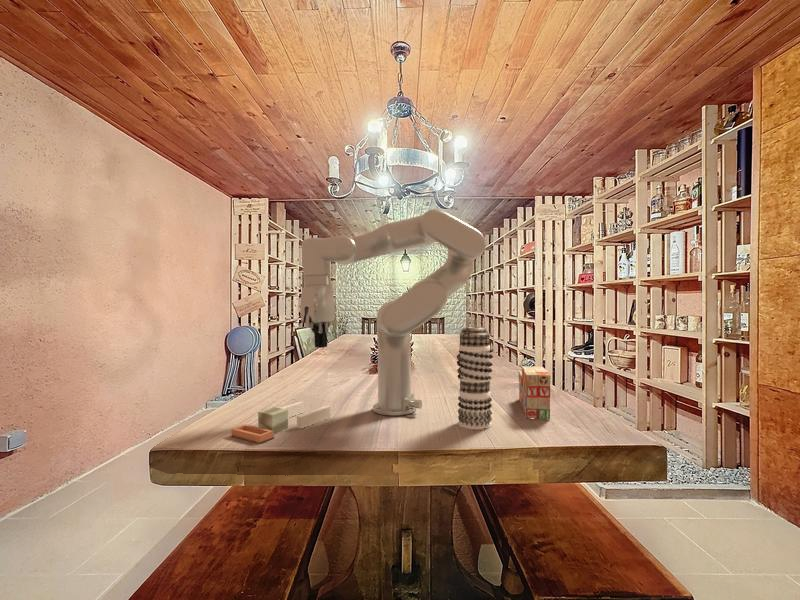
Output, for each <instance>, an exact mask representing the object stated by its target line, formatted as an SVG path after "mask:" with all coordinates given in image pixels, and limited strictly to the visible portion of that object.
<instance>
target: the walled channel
mask: <svg viewBox="0 0 800 600" xmlns="http://www.w3.org/2000/svg"><path fill="white" fill-rule="evenodd" d="M280 408H281V409H286V410H288V419H290V418H289V417H291V418H293V417H292V416H294V417H296V428H297V429H300V428H301V429H300V430H302V428H303V429H304V427H305V428H307V426H308V427H310V426H313V425H316V424H319V423H320V422H322V421H325V419H326V420H327V419H330V418H331V406H328V405H324V406H322V407H318V408H316V409H313V410H310V411H307V412H305V402H304V401H298V402H294V403H292V404H288V405H284V406H281V407H280ZM300 413H302V414H300ZM298 414H299V415H298ZM295 415H296V416H295ZM312 424H313V425H312Z"/></svg>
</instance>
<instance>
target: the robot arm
mask: <svg viewBox="0 0 800 600" xmlns="http://www.w3.org/2000/svg"><path fill="white" fill-rule="evenodd" d="M433 243H438V244H440V245H441V246H444V247H445V248H447V259H446V261H445V263H444V264H443V265H442V266H440V267H438V268H437V269H436V270H435V271H434V272H432V273H430V274H429V275H427V276H426V277H425V278H423V279H421V280H419V281H417V282H415V283H414V284H413V285H412V286H411V287H410V289H409V290H408V291H406V292H405V293H403V294H402V295H401V296H400V297H398V298H396V299H395V300H389V301H386V302H384V304H382V305H381V306H380V308H379V309H378V311H377V315H376V331H377V332H376V333H377V335H376V336H377V399H378V400H377V401H378V402H376V403H375V404H373V406H372V411H373V412H374V413H376V414H379V415H382V416H383V415H384V416H395V417H396V416H404V415H410V414H412V413H414V412H415V413H416V410H417V409H418V410H419V409H420V410H421V409H422V408H423V400H422V399H416V398H415V394H414V393H412V385H411V384H412V381H411V380H412V379H411V378H412V376H411V375H412V371H411V369H412V365H411V362H412V361H411V358H412V357H411V356H412V351H411V350H412V349H411V344H412V343H411V333H412V332H413V331H415V330H416V329H418V328H419V327H421V326H422V325H424V324H425V323H427V322H428V321H429V320H431V319H432V318H433V317H435V316H437V314H439V313H440V312H441V311H443V309H444V308H445V307H446V304H447V301H448V298H450V297H451V296H452V295H454V294H455V293H456V292H458V291H459V290H460V289H461V288H462V287H464V286H465V285H466V284H467V282H468V281H469V280H470V278H471V275H472V273H473V269H474V260H477V259H479V258H480V257H481V256H482V255H483V254H484V252H485V250H486V248H487V247H486V246H487V243H486V238H485V236H484V235H483V233H482V232H481V231H479V229H477V228H474V227H473V226H471V225H469V224H468V223H465V222H464V221H462V220H460V219H459V218H457V217H455V216H453V215H452V214H450V213H448V212H446V211H444V210H441V209H438V208H437V209H436V208H433V209H429V210H427V211H426V212H424V213H423V214H421V215H417V216H413V217H410V218H405V219H401V220H397V221H396V220H395V221H392V222H388V223H385V224H383V225H381V226H379V227H378V228H376V229H374V230H371V231H370V232H367V233H364V234H362V235H357V236H353V237H349V235H348V236H347V235H337V236H332V237H331V236H330V237H324V238H323V237H309V238H305V239H303V240H302V242H301V257H302V259H301V260H302V272H303V273H302V274H303V276H302V277H303V287H302V289H301V295H300V321H301V323H303V324H305V325H304V326H305V328H306V329H310V330H311V331H312V334H313V336H314V347H315V348H326V347H328V336H327V335H328V332H329V328H330V326H332V325H333V324H334V320H335V319H336V304H335V297H334V292H333V288H332V280H331V277H332V276H331V262H335V263H336V264H337V265H338V264H339V265H342V266H343V265H344V266H345V265H350V264H353V263H358V262H362V261H365V260H369V259H374V258H376V257H381V256H388V255H391V254H394V253H397V252H402V251H406V250H409V249H413V248H419V247H422V246H424V245H429V244H433Z"/></svg>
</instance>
